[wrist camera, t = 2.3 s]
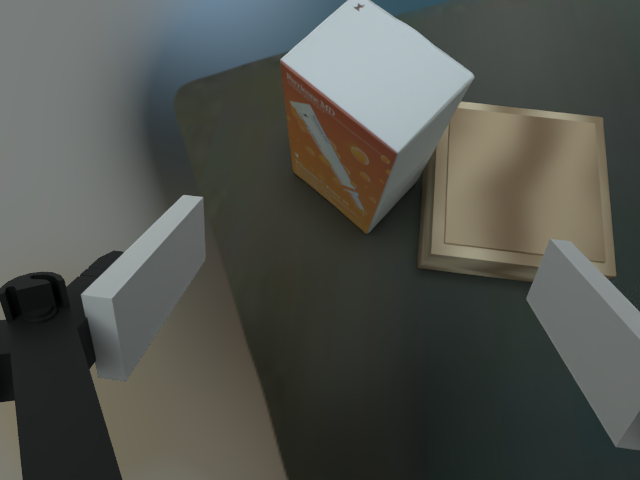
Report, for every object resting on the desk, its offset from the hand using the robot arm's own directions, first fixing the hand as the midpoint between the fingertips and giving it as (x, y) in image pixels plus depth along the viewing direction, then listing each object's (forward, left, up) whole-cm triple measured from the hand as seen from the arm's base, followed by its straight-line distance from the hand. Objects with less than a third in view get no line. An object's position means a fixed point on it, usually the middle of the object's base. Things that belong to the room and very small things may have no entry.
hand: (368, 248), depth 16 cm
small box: (0, -10, -15) cm, 18 cm away
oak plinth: (-11, -9, -15) cm, 21 cm away
